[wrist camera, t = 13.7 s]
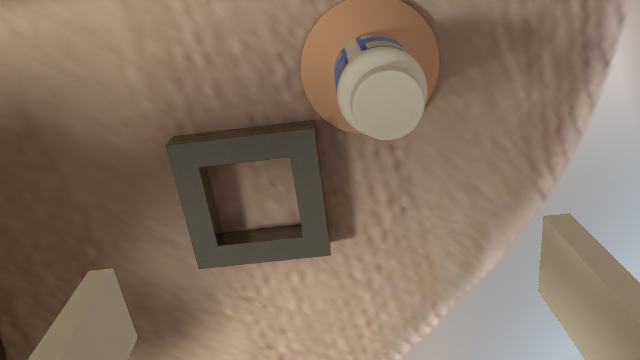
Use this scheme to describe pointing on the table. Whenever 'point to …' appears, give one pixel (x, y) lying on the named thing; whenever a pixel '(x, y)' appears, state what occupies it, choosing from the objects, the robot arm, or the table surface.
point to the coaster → (349, 22)
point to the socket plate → (248, 146)
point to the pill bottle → (379, 86)
